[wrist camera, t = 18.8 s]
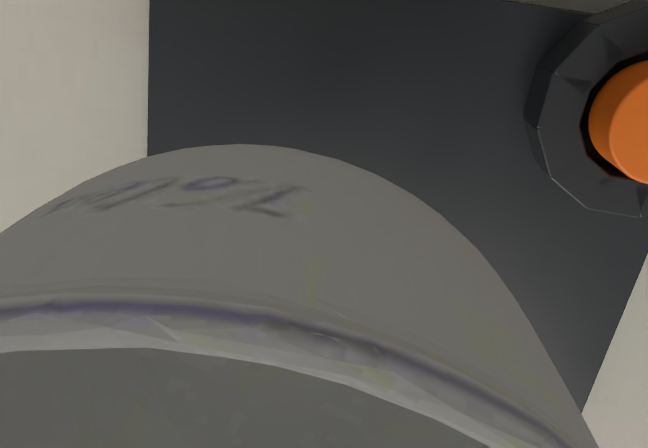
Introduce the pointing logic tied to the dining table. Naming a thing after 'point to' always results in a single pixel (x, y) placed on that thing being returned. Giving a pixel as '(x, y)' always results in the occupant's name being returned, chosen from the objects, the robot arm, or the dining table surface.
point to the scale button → (623, 121)
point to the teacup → (263, 316)
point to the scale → (436, 128)
